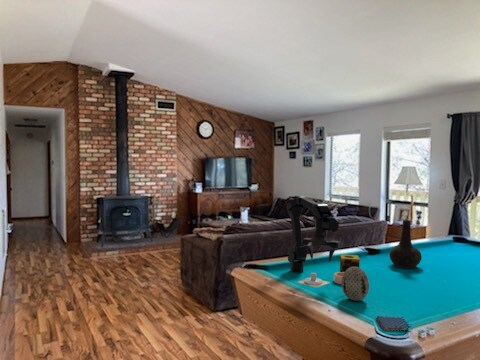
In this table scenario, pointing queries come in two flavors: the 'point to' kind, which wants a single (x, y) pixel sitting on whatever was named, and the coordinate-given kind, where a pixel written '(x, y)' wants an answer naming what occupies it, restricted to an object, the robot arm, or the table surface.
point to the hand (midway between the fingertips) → (320, 260)
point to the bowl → (338, 277)
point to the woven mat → (392, 323)
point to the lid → (313, 280)
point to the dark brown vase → (405, 249)
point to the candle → (348, 262)
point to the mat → (314, 285)
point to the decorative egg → (355, 283)
